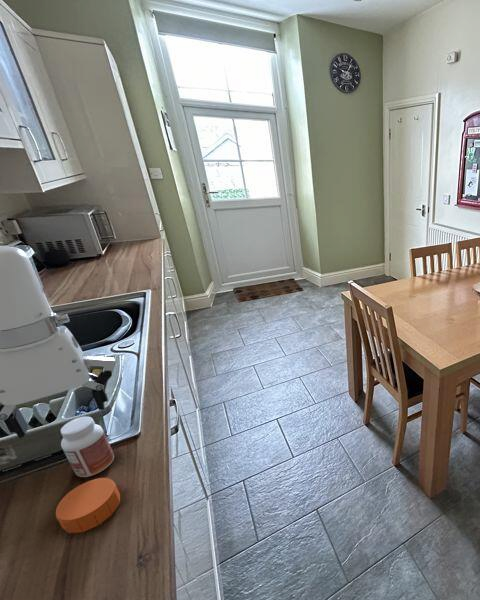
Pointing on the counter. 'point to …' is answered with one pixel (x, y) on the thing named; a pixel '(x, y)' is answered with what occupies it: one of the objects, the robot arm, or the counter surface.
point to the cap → (88, 505)
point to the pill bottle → (86, 446)
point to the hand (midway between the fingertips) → (64, 418)
